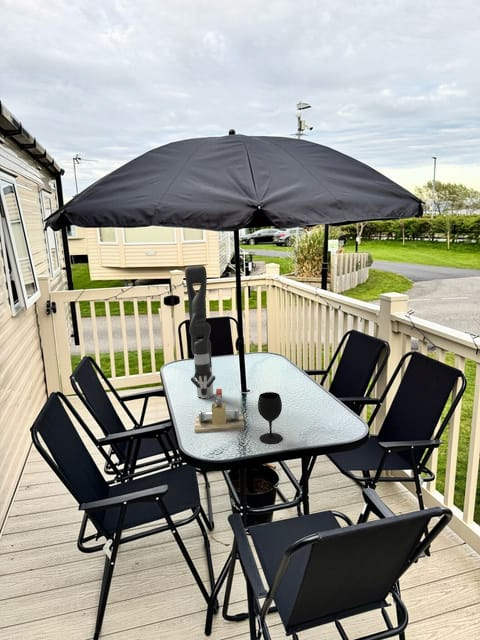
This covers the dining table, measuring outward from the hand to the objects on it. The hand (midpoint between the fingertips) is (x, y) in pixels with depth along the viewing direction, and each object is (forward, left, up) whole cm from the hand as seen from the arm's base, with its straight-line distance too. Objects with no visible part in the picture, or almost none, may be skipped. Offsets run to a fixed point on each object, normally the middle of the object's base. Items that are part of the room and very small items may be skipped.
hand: (204, 395), depth 215 cm
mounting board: (+12, +7, -11) cm, 18 cm away
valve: (+12, +8, -9) cm, 17 cm away
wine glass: (+30, +30, -11) cm, 44 cm away
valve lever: (+5, +8, -1) cm, 9 cm away
